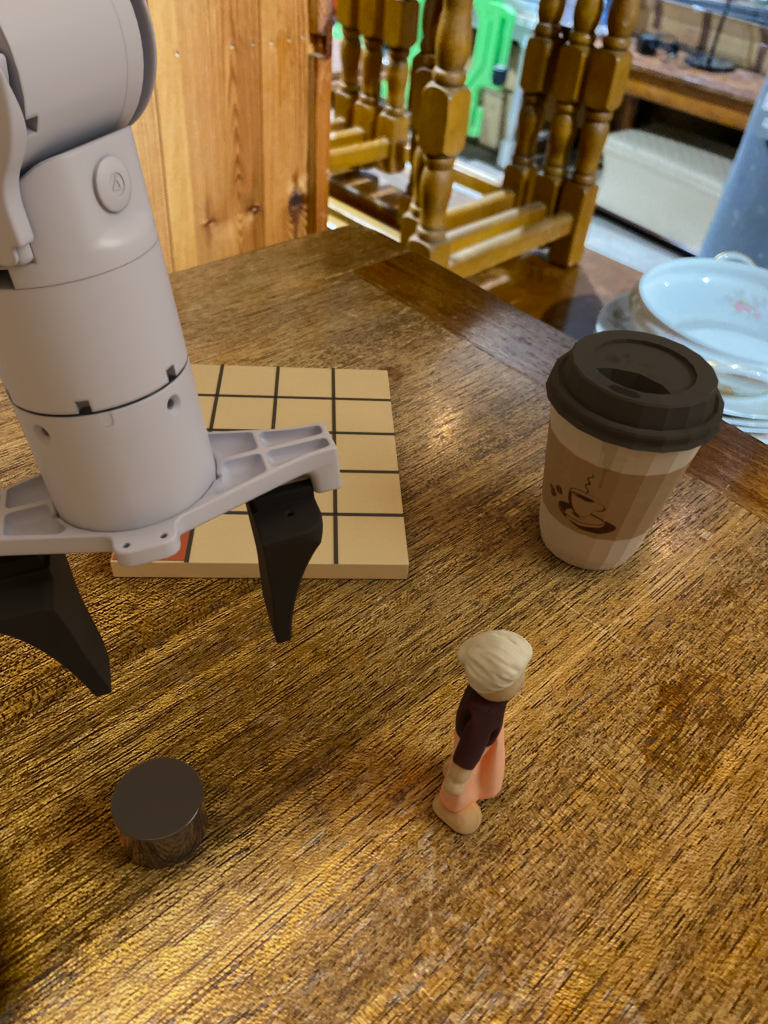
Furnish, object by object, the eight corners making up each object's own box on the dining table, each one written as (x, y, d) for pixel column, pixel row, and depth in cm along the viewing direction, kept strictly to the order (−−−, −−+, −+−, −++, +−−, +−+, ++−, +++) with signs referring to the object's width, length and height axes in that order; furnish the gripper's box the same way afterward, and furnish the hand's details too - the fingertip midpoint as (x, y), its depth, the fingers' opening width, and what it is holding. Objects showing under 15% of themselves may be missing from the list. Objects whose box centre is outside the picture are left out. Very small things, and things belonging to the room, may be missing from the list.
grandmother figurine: (495, 859, 40) (547, 720, 32) (421, 845, 40) (454, 703, 32) (502, 731, 46) (548, 584, 37) (438, 719, 46) (469, 571, 38)
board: (113, 577, 53) (109, 560, 52) (168, 377, 71) (166, 362, 70) (407, 579, 54) (409, 563, 53) (386, 383, 73) (387, 369, 72)
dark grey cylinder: (111, 870, 38) (101, 842, 36) (128, 787, 42) (119, 757, 40) (202, 867, 39) (197, 840, 37) (212, 785, 42) (207, 756, 40)
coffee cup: (486, 549, 57) (524, 373, 47) (546, 471, 65) (590, 305, 55) (634, 617, 53) (711, 441, 43) (680, 526, 61) (754, 357, 51)
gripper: (-173, 495, 21) (14, 782, 29) (348, 377, 24) (381, 669, 32) (-127, 377, 26) (20, 649, 34) (294, 293, 29) (334, 562, 37)
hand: (193, 651), depth 34 cm, fingers open, 7 cm apart
